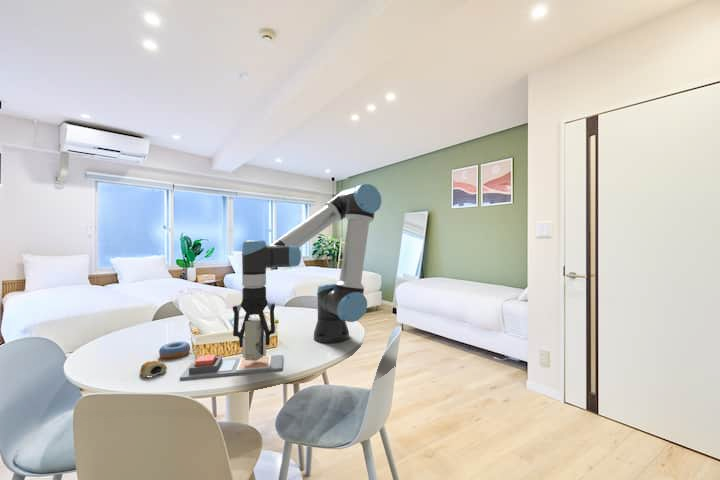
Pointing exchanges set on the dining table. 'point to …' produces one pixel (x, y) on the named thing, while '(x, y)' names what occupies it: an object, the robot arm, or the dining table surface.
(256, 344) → the box
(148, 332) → the dining table surface
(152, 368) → the pastry
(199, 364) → the button
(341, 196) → the robot arm
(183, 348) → the doughnut
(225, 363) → the picture board
